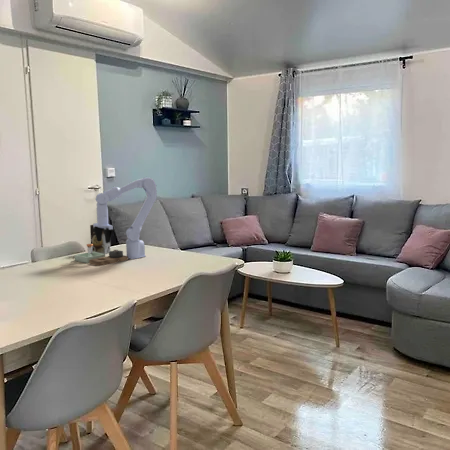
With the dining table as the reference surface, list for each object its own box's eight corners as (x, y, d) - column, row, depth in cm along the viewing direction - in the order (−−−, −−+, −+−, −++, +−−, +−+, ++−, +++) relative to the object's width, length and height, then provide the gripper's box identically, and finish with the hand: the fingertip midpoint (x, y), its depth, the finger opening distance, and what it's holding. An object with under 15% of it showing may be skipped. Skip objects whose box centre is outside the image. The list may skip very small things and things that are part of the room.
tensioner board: (118, 257, 251) (118, 247, 251) (128, 259, 246) (127, 249, 246) (89, 263, 238) (89, 253, 237) (98, 265, 233) (98, 255, 232)
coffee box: (90, 253, 263) (89, 225, 261) (97, 251, 270) (95, 223, 267) (105, 254, 261) (103, 225, 259) (111, 252, 267) (110, 224, 265)
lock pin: (91, 258, 248) (90, 243, 247) (94, 259, 246) (94, 244, 245) (86, 259, 246) (85, 244, 244) (89, 260, 244) (88, 245, 242)
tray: (93, 257, 254) (92, 251, 254) (105, 259, 247) (105, 254, 246) (74, 260, 246) (74, 254, 245) (86, 263, 238) (86, 257, 238)
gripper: (87, 215, 247) (89, 241, 248) (104, 217, 237) (105, 244, 239) (99, 214, 252) (100, 239, 254) (115, 216, 243) (116, 242, 244)
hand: (103, 241), depth 247 cm, fingers open, 7 cm apart
